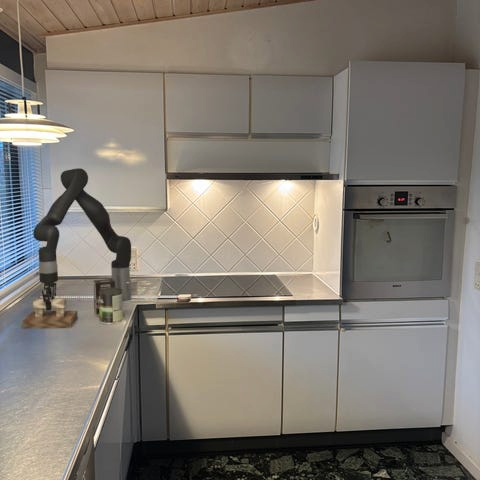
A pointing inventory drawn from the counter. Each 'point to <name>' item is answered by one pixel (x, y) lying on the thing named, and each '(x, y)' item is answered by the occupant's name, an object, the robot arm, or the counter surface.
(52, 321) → the brown slotted wooden block
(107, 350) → the counter surface
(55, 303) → the beige wooden plank
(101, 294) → the coffee can
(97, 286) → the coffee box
